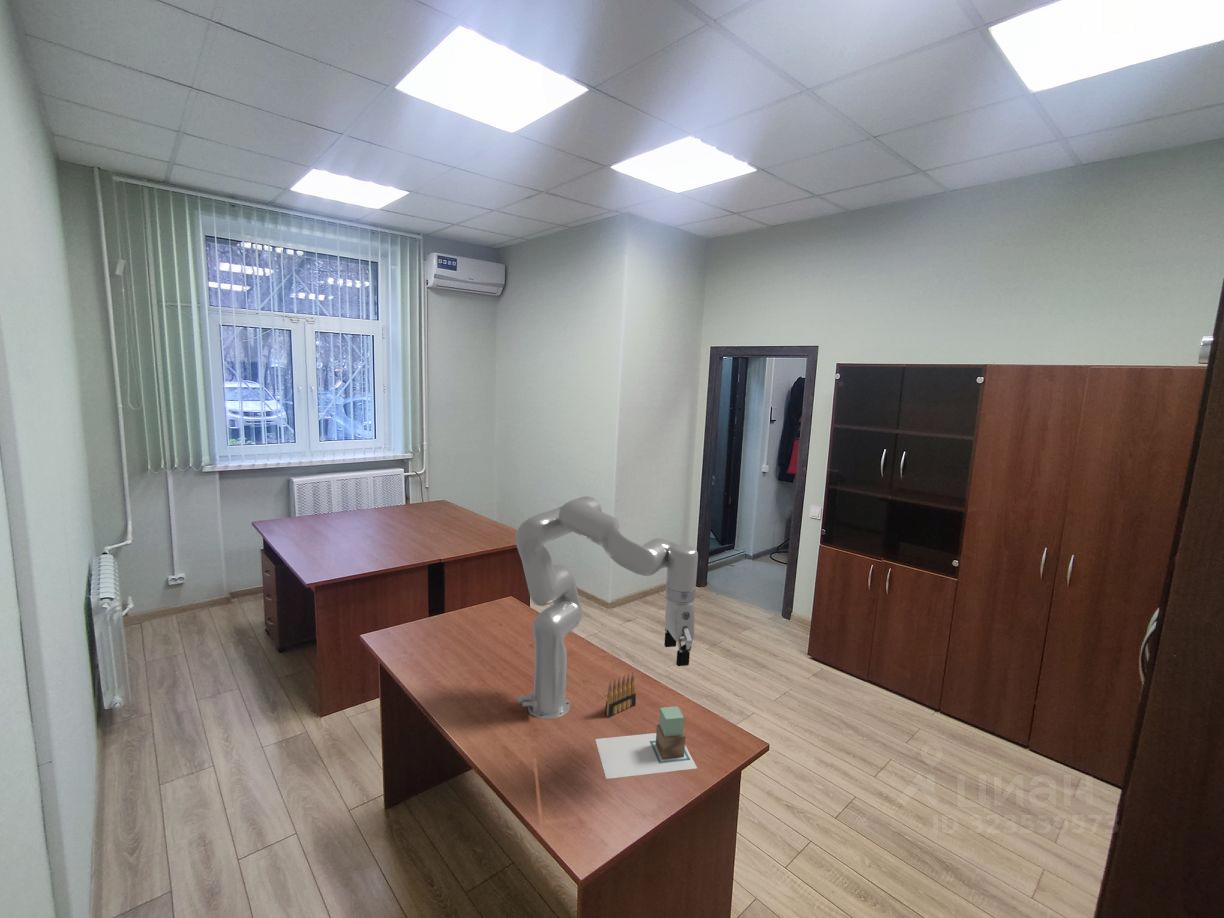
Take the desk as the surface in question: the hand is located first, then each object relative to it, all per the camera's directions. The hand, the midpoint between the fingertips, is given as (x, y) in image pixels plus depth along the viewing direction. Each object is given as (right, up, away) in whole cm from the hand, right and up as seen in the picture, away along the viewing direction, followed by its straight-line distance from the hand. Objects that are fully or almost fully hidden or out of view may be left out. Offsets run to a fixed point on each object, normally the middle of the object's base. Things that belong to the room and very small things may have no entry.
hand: (676, 655), depth 138 cm
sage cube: (-1, -21, +3) cm, 21 cm away
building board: (-8, -28, +2) cm, 29 cm away
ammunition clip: (-14, -25, +21) cm, 36 cm away
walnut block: (-1, -27, +4) cm, 27 cm away
